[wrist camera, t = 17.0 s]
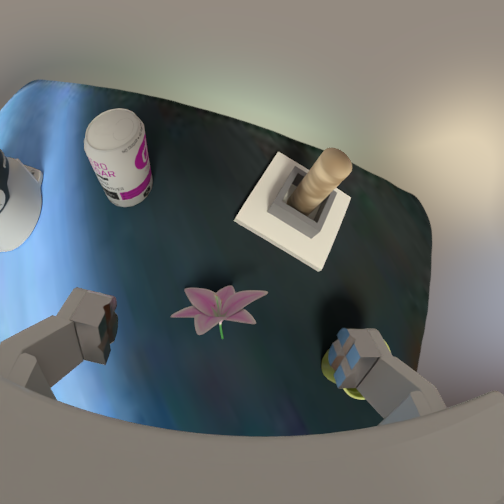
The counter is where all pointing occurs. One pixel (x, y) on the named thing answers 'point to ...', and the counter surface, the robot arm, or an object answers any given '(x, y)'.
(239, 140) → the counter surface
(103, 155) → the supplement can
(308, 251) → the docking plate
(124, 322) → the counter surface
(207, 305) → the lily
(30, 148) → the counter surface
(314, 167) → the beech peg
